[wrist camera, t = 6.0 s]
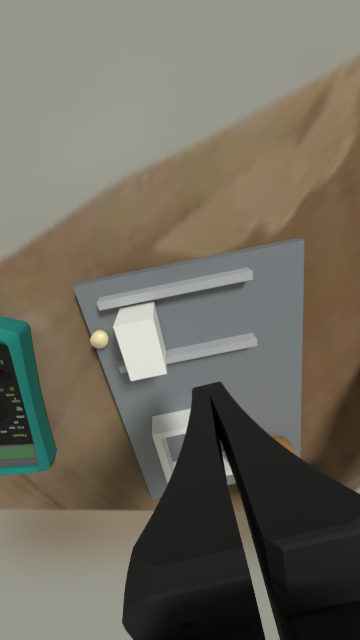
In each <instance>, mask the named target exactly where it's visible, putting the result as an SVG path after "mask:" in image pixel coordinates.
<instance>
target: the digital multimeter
mask: <svg viewBox="0 0 360 640" xmlns="http://www.w3.org/2000/svg"><path fill="white" fill-rule="evenodd" d="M10 354H11V355H10ZM14 369H15V370H14ZM15 373H16V374H15ZM16 377H17V378H16ZM17 381H18V382H17ZM18 384H19V386H18ZM19 388H20V389H19ZM20 392H21V393H20ZM21 396H22V397H21ZM22 400H23V401H22ZM23 403H24V405H23ZM24 407H25V408H24ZM25 411H26V412H25ZM26 415H27V416H26ZM27 419H28V420H27ZM28 422H29V424H28ZM29 426H30V428H29ZM30 430H31V431H30ZM31 434H32V435H31ZM32 438H33V439H32ZM55 454H56V447H55V444H54V440H53V437H52V433H51V430H50V427H49V423H48V420H47V416H46V412H45V408H44V403H43V399H42V395H41V391H40V386H39V380H38V375H37V369H36V364H35V358H34V352H33V345H32V339H31V332H30V327H29V325H28V324H27V323H26V322H24V321H20V320H15V319H10V318H5V317H0V475H13V474H25V473H34V472H40V471H45V470H48V469H49V468H50V466H51V464H52V461H53V459H54V456H55Z"/></svg>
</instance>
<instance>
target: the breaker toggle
mask: <svg viewBox="0 0 360 640" xmlns="http://www.w3.org/2000/svg"><path fill="white" fill-rule="evenodd" d="M113 328H114V331H115V334H116V337H117V340H118V344H119V347H120V350H121V353H122V356H123V359H124V362H125V365H126V368H127V371H128V374H129V377H130V380H131V381H135V380H140V379H144V378H149V377H154V376H159V375H164V374H167V364H166V349H165V345H164V340H163V336H162V332H161V328H160V324H159V320H158V315H157V311H156V307H155V303H154V301H149V302H144V303H139V304H134V305H129V306H124V307H120V309H119V312H118V315H117V317H116V320H115V323H114V326H113Z"/></svg>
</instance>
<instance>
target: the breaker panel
mask: <svg viewBox="0 0 360 640" xmlns="http://www.w3.org/2000/svg"><path fill="white" fill-rule="evenodd" d="M303 284H304V240H303V239H298V238H293V239H288V240H283V241H278V242H273V243H268V244H263V245H258V246H253V247H248V248H243V249H238V250H233V251H229V252H224V253H219V254H214V255H209V256H204V257H199V258H194V259H189V260H184V261H179V262H174V263H169V264H164V265H159V266H155V267H150V268H145V269H140V270H135V271H130V272H125V273H120V274H115V275H110V276H105V277H100V278H95V279H90V280H85V281H80V282H77V283H76V284H75V285H74V286H73V289H74V291H75V294H76V297H77V299H78V302H79V305H80V307H81V310H82V313H83V315H84V318H85V321H86V323H87V326H88V329H89V331H90V334H91V339H90V342H91V344H92V346H94V347H95V348H96V350H97V353H98V356H99V358H100V361H101V364H102V366H103V369H104V372H105V374H106V377H107V380H108V382H109V385H110V388H111V390H112V393H113V396H114V398H115V401H116V404H117V407H118V409H119V412H120V415H121V417H122V420H123V423H124V425H125V428H126V431H127V433H128V436H129V439H130V441H131V444H132V447H133V449H134V452H135V455H136V457H137V460H138V463H139V465H140V468H141V471H142V473H143V476H144V479H145V482H146V484H147V487H148V490H149V492H150V495H151V498H152V500H157V499H161V497H162V495H163V493H164V491H165V489H166V487H167V484H168V482H169V480H170V477H171V475H172V473H173V470H174V468H175V465H176V462H177V460H178V457H179V454H180V451H181V448H182V445H183V441H184V437H185V434H186V430H187V426H188V421H189V416H190V410H191V403H192V389H193V388H194V387H198V386H203V385H207V384H211V383H215V382H219V381H220V382H222V383H223V385H224V387H225V388H226V390H227V391H228V392H229V394H230V395H231V396H232V397H233V399H234V400H235V401H236V402H237V403H238V405H239V406H240V407H241V408H242V409H243V410H244V411H245V412H246V413H247V414H248V415H249V416H250V417H251V418H252V419H253V420H254V421H255V422H256V423H257V424H258V425H259V426H260V427H261V428H262V429H263V430H265V431H266V432H267V433H268V434H269V435H270V436H282V437H284V438H286V439H287V440H288V441H289V442H290V444H291V446H292V447H293V449H294V451H295V453H296V454H297V456H298V457H299V458H300V444H301V391H302V337H303ZM149 301H154V303H155V307H156V311H157V315H158V320H159V324H160V328H161V332H162V336H163V340H164V345H165V349H166V364H167V374H164V375H159V376H154V377H149V378H144V379H140V380H135V381H131V380H130V377H129V374H128V371H127V368H126V365H125V362H124V359H123V356H122V353H121V350H120V347H119V344H118V340H117V337H116V334H115V331H114V328H113V326H114V323H115V320H116V317H117V315H118V312H119V309H120V307H124V306H129V305H134V304H139V303H144V302H149ZM220 443H221V440H220ZM221 449H222V454H223V460H224V466H225V472H226V478H227V484H228V485H231V484H236V481H235V479H234V476H233V473H232V471H231V468H230V465H229V462H228V460H227V457H226V454H225V451H224V449H223V446H222V443H221Z"/></svg>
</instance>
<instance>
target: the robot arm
mask: <svg viewBox="0 0 360 640" xmlns="http://www.w3.org/2000/svg"><path fill="white" fill-rule="evenodd" d="M220 440H221V443H222V446H223V449H224V451H225V454H226V457H227V460H228V462H229V465H230V468H231V471H232V473H233V476H234V479H235V481H236V484H237V487H238V490H239V493H240V496H241V499H242V503H243V506H244V510H245V513H246V517H247V520H248V524H249V528H250V531H251V535H252V539H253V542H254V546H255V549H256V553H257V556H258V560H259V564H260V567H261V571H262V575H263V578H264V582H265V586H266V589H267V593H268V597H269V600H270V604H271V608H272V612H273V615H274V619H275V623H276V626H277V630H278V634H279V637H280V640H360V494H359V493H357V492H355V491H353V490H351V489H349V488H348V487H346V486H344V485H342V484H340V483H339V482H337V481H335V480H334V479H332V478H330V477H329V476H327V475H325V474H324V473H322V472H320V471H319V470H317V469H316V468H314V467H313V466H311V465H310V464H308V463H307V462H305V461H304V460H302V459H301V458H299V457H298V456H296V455H295V454H294V453H292V452H291V451H289V450H288V449H287V448H285V447H284V446H283V445H282V444H280V443H279V442H278V441H276V440H275V439H274V438H273V437H272V436H270V435H269V434H268V433H267V432H266V431H265V430H263V429H262V428H261V427H260V426H259V425H258V424H257V423H256V422H255V421H254V420H253V419H252V418H251V417H250V416H249V415H248V414H247V413H246V412H245V411H244V410H243V409H242V408H241V407H240V406H239V405H238V403H237V402H236V401H235V400H234V399H233V397H232V396H231V395H230V394H229V392H228V391H227V390H226V388H225V387H224V385H223V383H222V382H220V381H219V382H215V383H211V384H207V385H203V386H198V387H194V388H193V389H192V403H191V410H190V416H189V421H188V426H187V430H186V434H185V437H184V441H183V445H182V448H181V451H180V454H179V457H178V460H177V462H176V465H175V468H174V470H173V473H172V475H171V477H170V480H169V482H168V484H167V487H166V489H165V491H164V493H163V495H162V497H161V499H160V501H159V503H158V505H157V507H156V509H155V511H154V513H153V515H152V517H151V518H150V520H149V522H148V523H147V525H146V527H145V529H144V530H143V532H142V534H141V535H140V537H139V539H138V541H137V542H136V544H135V545H134V547H133V551H132V555H131V559H130V563H129V568H128V573H127V579H126V585H125V593H124V606H123V619H122V623H123V625H124V627H125V629H126V631H127V632H128V633H129V635H130V636H131V637H132V638H133V640H265V636H264V632H263V627H262V623H261V619H260V614H259V610H258V606H257V602H256V597H255V593H254V589H253V585H252V580H251V576H250V572H249V568H248V564H247V560H246V556H245V552H244V549H243V545H242V541H241V537H240V533H239V529H238V525H237V521H236V517H235V513H234V509H233V505H232V501H231V497H230V494H229V490H228V484H227V478H226V472H225V466H224V460H223V454H222V449H221V443H220Z"/></svg>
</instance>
